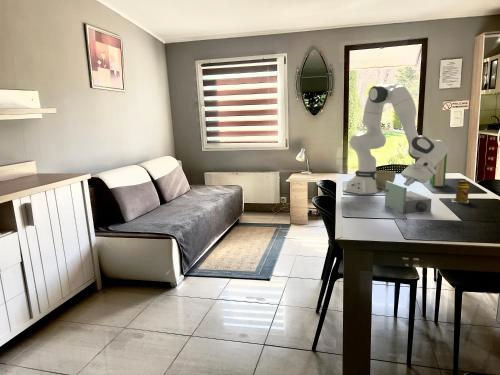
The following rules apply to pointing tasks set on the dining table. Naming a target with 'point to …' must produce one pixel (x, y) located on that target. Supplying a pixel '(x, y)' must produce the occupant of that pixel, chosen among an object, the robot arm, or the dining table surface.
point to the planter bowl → (384, 178)
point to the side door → (395, 197)
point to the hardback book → (439, 173)
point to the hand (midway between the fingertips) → (405, 185)
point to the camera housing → (417, 203)
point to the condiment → (462, 192)
